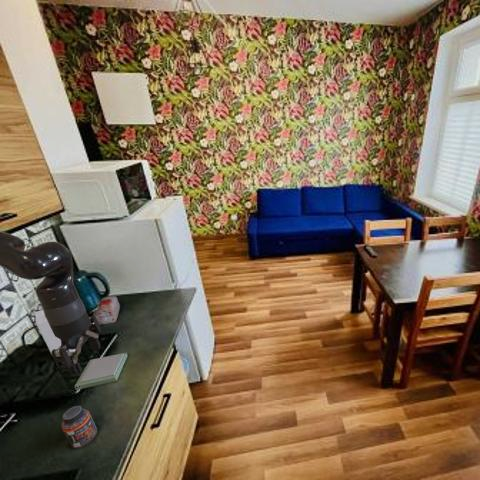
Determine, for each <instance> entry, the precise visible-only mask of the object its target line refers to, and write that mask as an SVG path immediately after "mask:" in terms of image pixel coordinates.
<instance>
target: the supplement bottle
mask: <svg viewBox="0 0 480 480" xmlns="http://www.w3.org/2000/svg"><path fill="white" fill-rule="evenodd" d="M62 420H63V421H62V422H61V429H62V431H63V433H64V435H65V437H66V438H67V441H68V443H69V444H70V447H72V448H73V449H80V448H82V447H85V446H86V445H88V444H89V443H91V442H92V441H93V440H94V438H95V437H96V436H97V433H98V429H97V426H96V424H95V422H94V420H93V417H92V415H91V413H90V411H89V409H86V408H83V407H82V406H81V405H74V406H72V407H70V408H68V409H67V410H66V411H65V412H64V413H63V415H62Z"/></svg>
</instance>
